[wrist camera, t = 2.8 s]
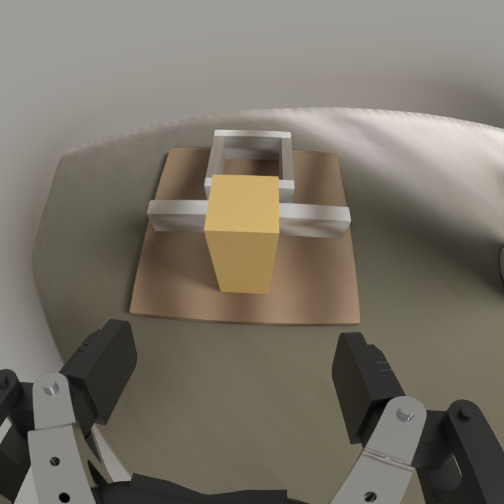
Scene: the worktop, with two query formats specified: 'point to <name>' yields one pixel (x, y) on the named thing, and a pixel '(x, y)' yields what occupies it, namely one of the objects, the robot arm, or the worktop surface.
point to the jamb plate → (288, 247)
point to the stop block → (243, 231)
